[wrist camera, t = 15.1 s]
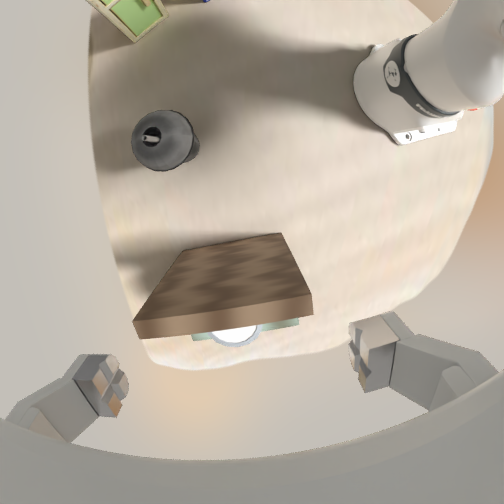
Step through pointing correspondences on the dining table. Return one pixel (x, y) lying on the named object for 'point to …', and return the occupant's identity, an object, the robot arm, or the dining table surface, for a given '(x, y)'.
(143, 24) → the toy refrigerator
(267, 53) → the dining table surface
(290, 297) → the wall shelf
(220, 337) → the white cup
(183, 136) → the beverage cup
